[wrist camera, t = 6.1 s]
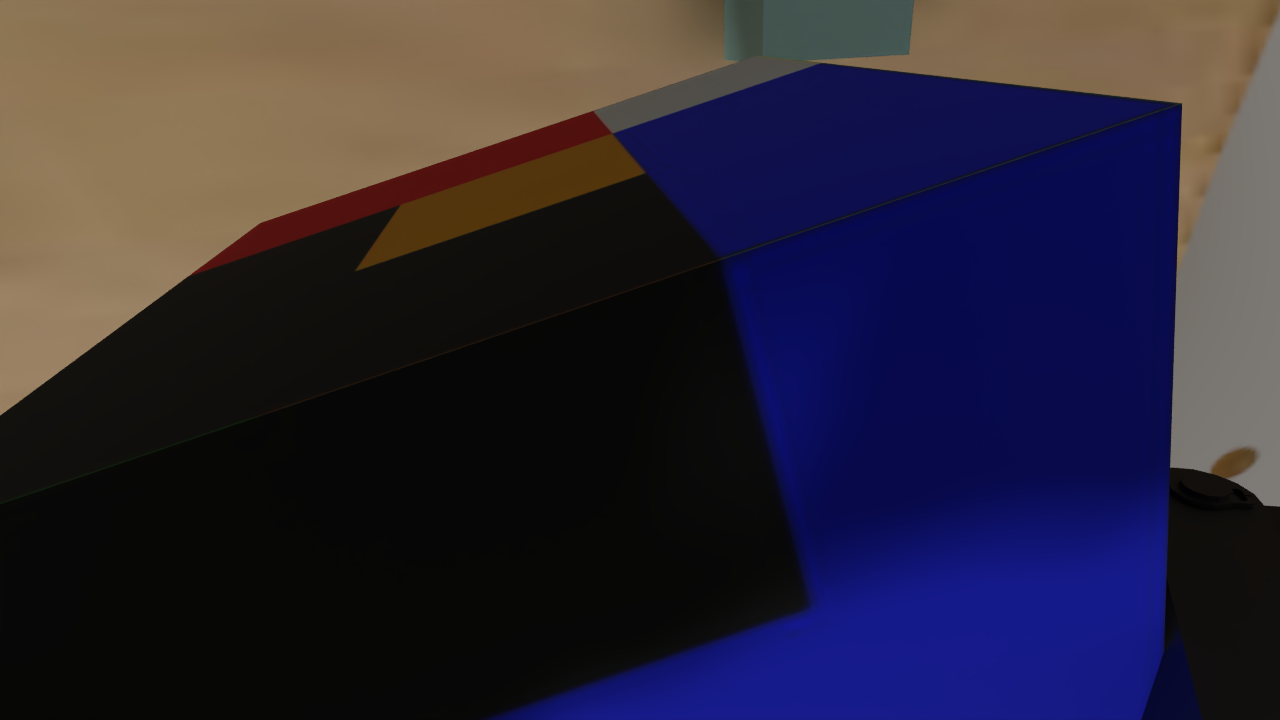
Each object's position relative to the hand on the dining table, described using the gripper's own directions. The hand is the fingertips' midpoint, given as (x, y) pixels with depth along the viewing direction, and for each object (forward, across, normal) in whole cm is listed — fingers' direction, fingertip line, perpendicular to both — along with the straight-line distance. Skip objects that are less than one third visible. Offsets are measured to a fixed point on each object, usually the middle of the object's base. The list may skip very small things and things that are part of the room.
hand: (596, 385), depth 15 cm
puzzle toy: (+1, 0, 0) cm, 1 cm away
